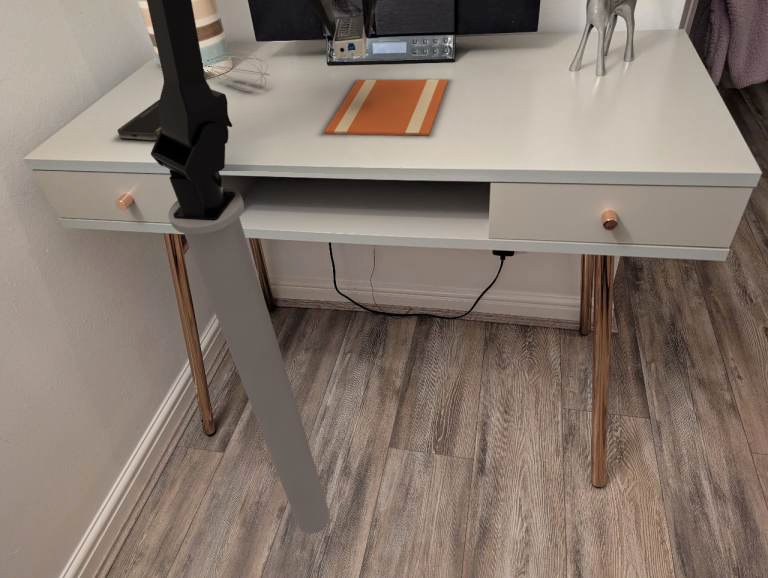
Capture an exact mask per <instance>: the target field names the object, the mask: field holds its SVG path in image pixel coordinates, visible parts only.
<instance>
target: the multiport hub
mask: <svg viewBox="0 0 768 578" xmlns="http://www.w3.org/2000/svg"><path fill="white" fill-rule="evenodd" d="M336 21H337V22H336V30H335V35H334V39H333V38H332V39H333V40H332V44H333V45H332V46H333V52H334V58H335V59H346V58H356V57H357V58H358V57H365V56H366V54H367V44H368V38H366V35H365V30H364V21H363V15H359V16H348V17H341V18H338V19H337V20H336Z"/></svg>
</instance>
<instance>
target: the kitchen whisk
mask: <svg viewBox="0 0 768 578" xmlns="http://www.w3.org/2000/svg"><path fill="white" fill-rule="evenodd" d="M237 53H238V54H239V53H241V51H233V52H228V53H223V54H220V55H217V56H215V57H212V58H209V59H210V60H211V61H213V60H215V61H216V62H225V61H233V60H243V61H246V62H247V63H250V64H251V65H252V66H254V68H256V69H257V70H258V71H254V70H246V69H241V68H235V67H234V68H233V67H226V66H219V65H216V66H217V67H214V66H213V67H212V66H208V67H212V69H219V70H223V71H229V72H234V73H235V72H236V73H241V74H248V75H249V74H250V75H259V76H260V77H258V78H257V79H256V80H254V81H252V82H250V83H248V82H245V81H241V80H239V79H236V78H233V77H231V76H229V75H226V74H224V73H222V72H219V71H217V70H215V71H214V72H215V73H218V74H220V75H222V76H225V77H227V78H229V79H232V80H235V81H237V82H240V83H241V84H235V83H231V82H229V81H226V80H223V79H222V78H220V77H219V76H217V75H216V74H215V73H213V71H210V72H211V73H210V72H209V71H208V70H207V71H208V73H209V74H210V75H212V76H213V77H215V78H216V79H218V80H220V81H222V82H223V83H225V84H227V85H229V86H231V87H232V88H234V89H237V90H240V91H243V92H255V91H256V90H258V89H259V87H261V85H262V83H263V79H264V81H265V82H264V83H265V84H263V85H262V87H265V86H266V85H267V79H266V77H265V76H271V74H270V73H267V70H268V68H269V67H268V66H269V65H268V63H267V62H266V61H265V60H263V59H262V58H261V59H260V58H259V57H257V55H256V54H253V53H251V52H247V51H242V53H243V54H244V53H245V54H250V55H252V56H254V57H239V56H233V55H231V54H237ZM219 58H220V59H221V58H228V59H221V60H216V59H219ZM250 60H257V61H258V62H259V65H260V68H261V70H260V69H259V68H258V66H256V65H255V64H254V63H252V62H251V61H250ZM207 61H209V60H207ZM216 62H215V63H216ZM261 62H264V63H265V64H266V69H265V70H264V72H263V71H262V70H263V64H262V63H261ZM205 66H207V65H205ZM259 80H260V83H259V84H258V85H256V84H254V83H256V82H258V81H259ZM242 83H243V84H242ZM236 86H240V87H242V86H243V87H244V86H253V87H256V88H254V89H249V90H248V89H242V88H239V87H236Z"/></svg>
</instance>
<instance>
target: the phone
mask: <svg viewBox="0 0 768 578" xmlns="http://www.w3.org/2000/svg"><path fill="white" fill-rule="evenodd" d="M159 100H160V98H159V99H158V100H157V101H154V102H153V103H152V104H151V105H149V106H148V107H147V108H145V109H144V110H142V111H141V112H140V113H139V114H137V115H136V116H135V117H133V118H131V119H130V120H129V121H127V122H126V123H125V124H124V125H122V126H120V127H119V128H118V129H117V133H118V134H117V135H118V136H119V139H122V140H137V141H150V142H151V141H156V139H157V137H158V134H159V132H160V130H161V127H160V112H159Z"/></svg>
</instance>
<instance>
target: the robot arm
mask: <svg viewBox="0 0 768 578" xmlns="http://www.w3.org/2000/svg"><path fill="white" fill-rule="evenodd" d="M378 1H379V0H361V6H362V16H363V21H364V30H365V35H366V38H367V39H368V38H370V36H371V33H372V28H373V23H374V17H375V14H376V13H375V12H376V7H377V4H378ZM307 2H308V3H309V4H310V5H311V7H312V8H313V10H314V11H315V12H316V14H317V15H318V17H319V18H320V20H321V22H322V23H323V25H324V26H325V29H327V31H328V33H329V34H330V37H331V39H334V35H335V30H336V26H337V22H336V18H335V13H334V10H333V4H332V0H307ZM146 3H147V4H146V5H147V8H148V12H149V17H150V22H151V27H152V31H153V36H154V41H155V45H156V49H157V54H158V59H160V60H159V63H160V68H161V72H162V77H163V85H162V89H161V93H160V97H159V99H160V100H159V99H158V100H159V112H160V127H161V130H160V132H159V134H158V137H157V139H156V140H155V142H154V144H153V147H152V149H151V151H150V156H151V157H152V158H153V160H154V161H155V162H156V163H157V164H158V165H159V166H161V167H165V168H167V169H168V170H169V175H170V176H169V181H170V185H171V186H172V189H173V191H174V195H175V197H176V201H177V200H178V202H179V205H180V207H179V208H178V209H177V210H176V212H175V213H174V214H173V216H174V218H176V219H193V220H211V221H215V220H218V219H219V217H220V216H221V215H222V213H223V212H224V211H225V209H226V208H227V207H228V205H229V204H230V203H231V201H232V200H233V199H234V197H235V196H236V195H235V192H228V191H224V187H225V186H222V184H223V182H222V181H223V180H222V177H221V174H220V171H222V170H224V169H225V167H226V165H225V164H226V144H228V142H229V136H230V134H229V131H230V130H229V128H232V127H233V123H232V122H231V120H230V117H229V114H228V113H229V109H228V99H227V98H228V97H227V95H226V93H223V92H221V91H217V90H214V89H212V88H211V87H210V85H209V83H208V81H207V78H206V76H205V75H206V74H205V72H204V69H203V63H202V57H203V56H202V52H201V46H200V40H199V35H198V29H197V23H196V19H195V13H194V7H193V1H192V0H146Z"/></svg>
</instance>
